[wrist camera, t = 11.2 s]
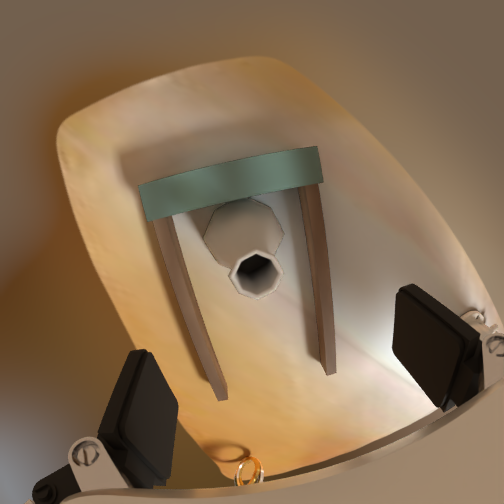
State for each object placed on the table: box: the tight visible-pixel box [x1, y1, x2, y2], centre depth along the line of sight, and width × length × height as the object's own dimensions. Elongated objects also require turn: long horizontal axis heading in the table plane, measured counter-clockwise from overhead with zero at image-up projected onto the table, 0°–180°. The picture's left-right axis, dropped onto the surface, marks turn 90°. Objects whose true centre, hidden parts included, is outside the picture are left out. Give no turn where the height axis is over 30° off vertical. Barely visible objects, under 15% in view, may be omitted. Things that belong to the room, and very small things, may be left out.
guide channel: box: [138, 146, 336, 401], centre depth 26 cm, size 14×25×4 cm, turn 12°
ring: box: [234, 457, 263, 486], centre depth 34 cm, size 7×3×8 cm, turn 142°
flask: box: [203, 197, 284, 300], centre depth 21 cm, size 7×7×10 cm
